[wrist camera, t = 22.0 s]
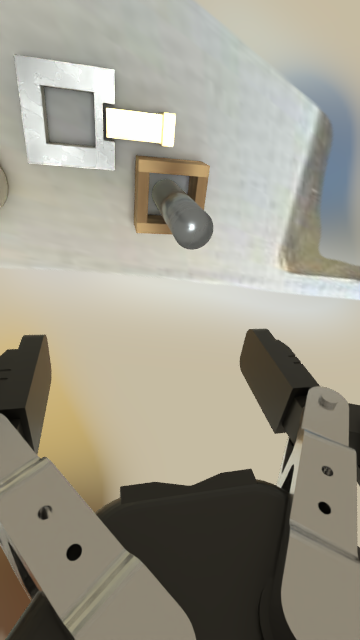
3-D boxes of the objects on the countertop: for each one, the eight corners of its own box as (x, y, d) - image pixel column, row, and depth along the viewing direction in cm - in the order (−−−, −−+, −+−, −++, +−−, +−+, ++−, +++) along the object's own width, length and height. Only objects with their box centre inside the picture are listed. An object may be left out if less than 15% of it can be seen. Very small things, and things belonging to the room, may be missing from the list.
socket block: (32, 160, 36) (28, 163, 34) (19, 57, 31) (13, 54, 29) (114, 167, 38) (114, 170, 36) (113, 72, 33) (114, 69, 31)
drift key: (106, 137, 36) (106, 140, 33) (105, 105, 34) (106, 105, 31) (167, 144, 37) (173, 146, 34) (169, 113, 36) (175, 114, 33)
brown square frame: (133, 223, 42) (136, 232, 38) (135, 155, 38) (139, 159, 34) (192, 226, 44) (200, 235, 40) (200, 161, 39) (209, 165, 36)
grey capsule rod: (151, 207, 41) (171, 248, 29) (152, 177, 39) (175, 207, 27) (178, 209, 42) (209, 250, 30) (181, 180, 40) (216, 210, 28)
